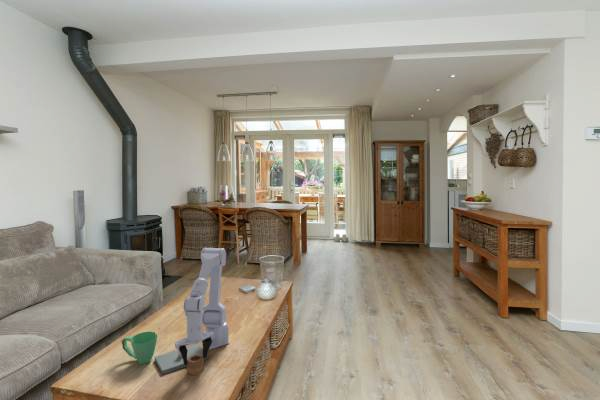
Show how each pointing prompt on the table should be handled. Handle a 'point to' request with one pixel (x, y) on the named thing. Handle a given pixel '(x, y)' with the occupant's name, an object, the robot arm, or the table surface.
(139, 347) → the mug
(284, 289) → the table surface
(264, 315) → the table surface
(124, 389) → the table surface
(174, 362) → the post board
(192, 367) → the tube
